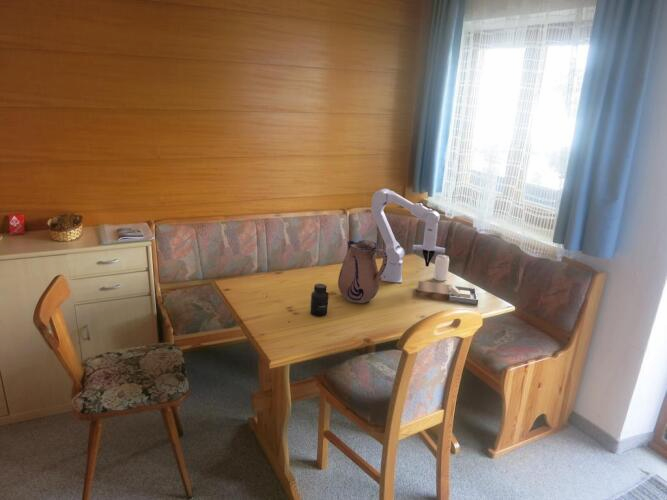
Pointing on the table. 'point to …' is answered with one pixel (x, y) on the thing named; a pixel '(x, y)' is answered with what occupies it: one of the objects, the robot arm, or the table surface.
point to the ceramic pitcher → (361, 272)
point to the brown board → (433, 290)
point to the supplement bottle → (319, 301)
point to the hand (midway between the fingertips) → (427, 265)
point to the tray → (472, 300)
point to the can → (441, 267)
